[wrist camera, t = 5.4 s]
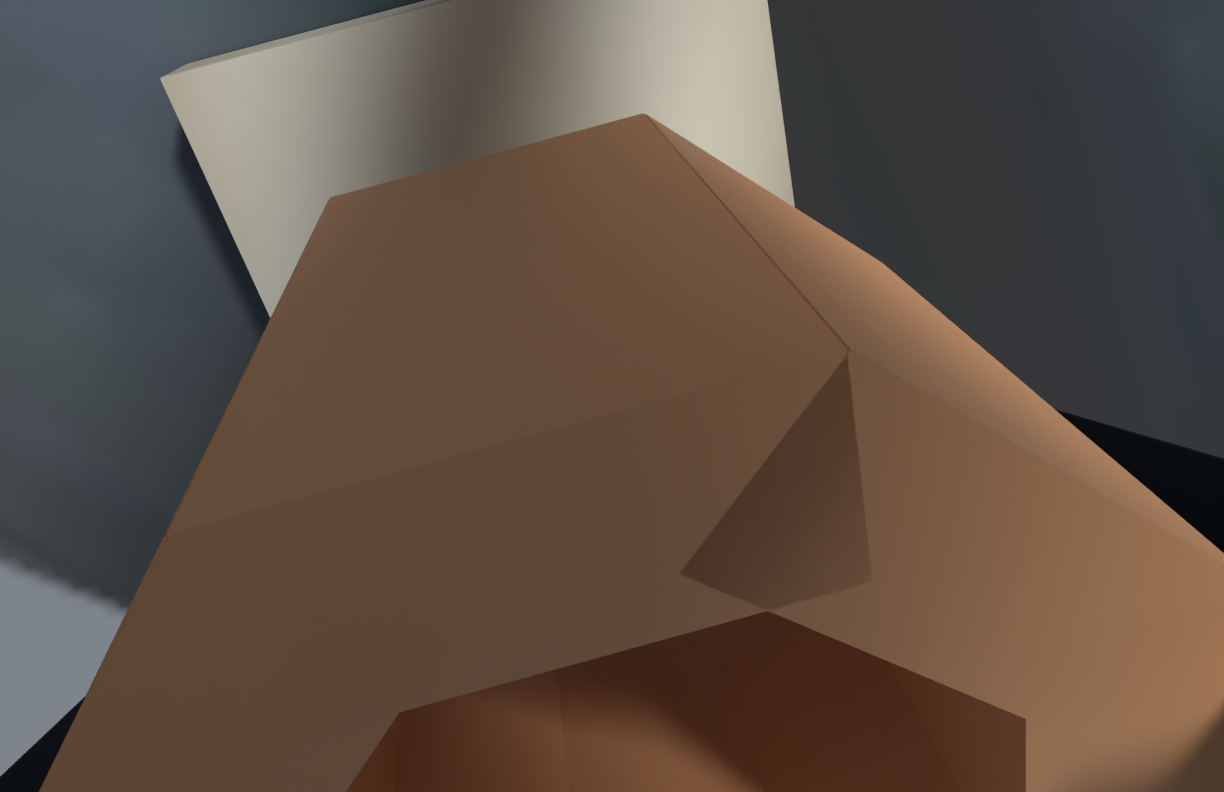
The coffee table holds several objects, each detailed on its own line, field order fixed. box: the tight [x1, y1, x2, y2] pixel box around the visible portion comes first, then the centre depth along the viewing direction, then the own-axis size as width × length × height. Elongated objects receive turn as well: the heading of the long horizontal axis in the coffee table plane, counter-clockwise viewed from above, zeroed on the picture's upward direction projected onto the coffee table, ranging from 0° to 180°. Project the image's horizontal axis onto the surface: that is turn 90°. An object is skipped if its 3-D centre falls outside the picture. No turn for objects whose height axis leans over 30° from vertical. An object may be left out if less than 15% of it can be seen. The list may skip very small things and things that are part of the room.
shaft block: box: [160, 0, 795, 318], centre depth 14 cm, size 9×9×6 cm
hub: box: [39, 113, 1224, 792], centre depth 8 cm, size 7×7×5 cm
